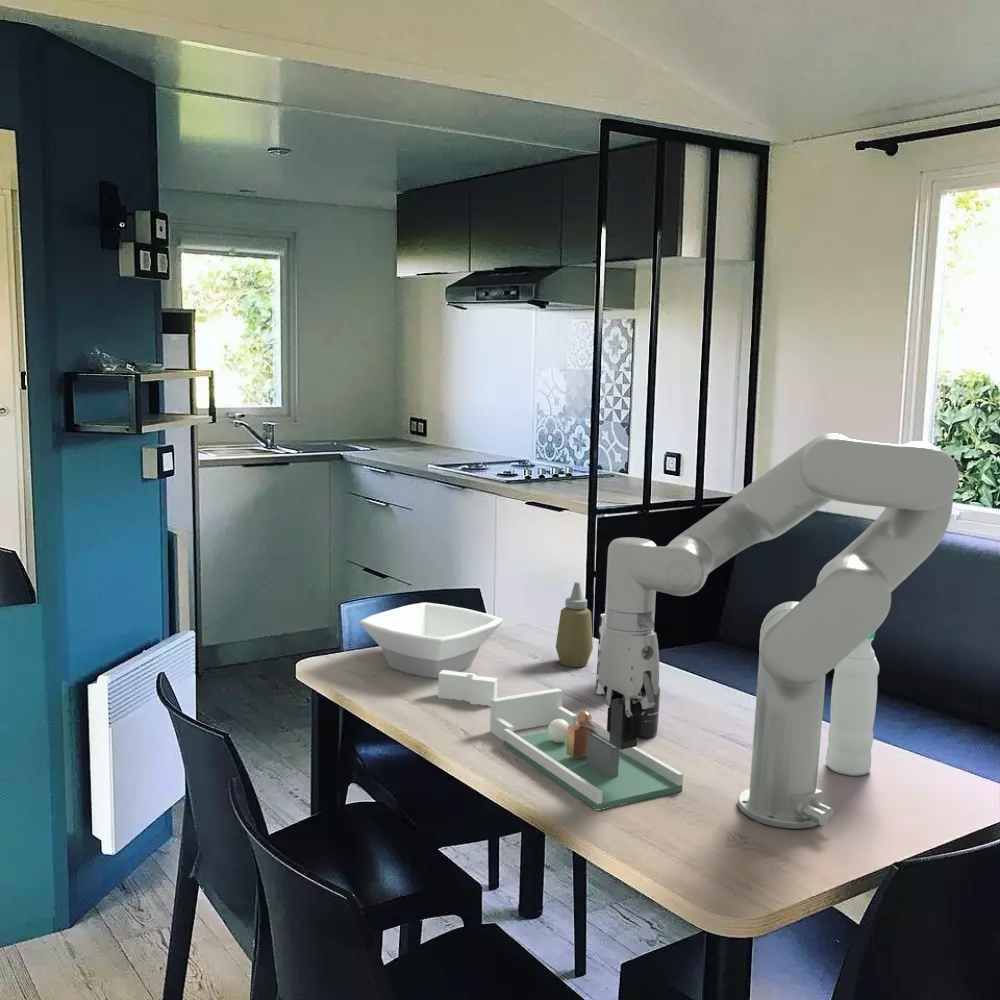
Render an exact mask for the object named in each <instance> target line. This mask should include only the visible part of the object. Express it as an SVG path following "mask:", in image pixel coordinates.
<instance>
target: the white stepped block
mask: <svg viewBox="0 0 1000 1000" xmlns="http://www.w3.org/2000/svg"><path fill="white" fill-rule="evenodd" d="M498 680H499V678H497V677H491V676H490V677H489V676H481V675H477V673H471V672H464V671H459V672H457V671H448V670H442V671H441V672H440V673H439V678H438V689H437V690H438V691H437V692H438V693H437V697H438V698H439V699H445V698H446V699H447V700H453V699H455V700H454V701H462V700H465V701H464V702H467V703H468V702H470V703H469V704H471V703H472V704H471V705H477V704H481V705H480V706H485V705H488V706H487V707H491V699H493V698H498Z"/></svg>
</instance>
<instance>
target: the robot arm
mask: <svg viewBox="0 0 1000 1000" xmlns="http://www.w3.org/2000/svg"><path fill="white" fill-rule="evenodd" d="M959 484H960V472H959V468H958V467H957V463H956V462H955V460H954V459H953V457H952V456H950V454H949V453H947V452H946V451H945V450H943V449H941V448H939V446H936V445H934V443H933V444H932V443H930V442H928V441H927V442H926V441H922V440H920V441H919V440H917V441H916V440H915V441H909V442H905V443H904V444H896V443H895V444H894V443H885V442H884V443H883V442H875V441H873V442H872V441H865V440H858V439H851V438H849V437H847V436H845V435H843V434H841V433H840V434H839V433H833V432H831V433H824V434H821V435H819V436H817V437H816V438H813V439H811V440H810V441H809V442H807V443H806V444H805V445H803V446H802V447H800V448H799V449H798V450H796V451H795V452H793V453H792V454H790V455H789V456H788V457H786V458H784V459H783V460H782V461H781V462H779V463H778V464H776V465H775V466H774V467H773V468H771V469H770V470H768V471H767V472H765V473H764V474H763V475H761V476H760V477H758V478H757V479H755V480H754V481H752V482H751V483H749V484H748V485H747V486H746V487H744V488H743V489H740V490H739V491H738V492H737V493H735V494H734V495H733V496H731V498H730V499H728V500H727V501H726V502H724V503H723V504H721V505H720V506H718V507H717V508H716V509H714V510H713V511H711V512H710V513H708V514H707V515H706V516H704V517H703V518H702V519H699V520H698V521H697V522H696V523H693V525H691V526H690V527H688V528H687V529H686V530H684V531H683V532H681V533H680V534H678V535H677V536H676V537H674V538H673V539H672V540H671V541H670V542H669V543H668V544H667V545H665V546H657V544H656V543H655V542H654V541H653V540H651V539H648V538H641V537H633V536H632V537H629V536H628V537H618V538H614V539H613V540H612V541H610V543H609V545H608V548H607V560H606V561H607V563H606V564H607V565H606V582H605V583H606V584H605V585H606V587H605V589H606V590H605V601H604V602H605V604H604V613H605V621H604V628H603V632H602V637H601V644H600V652H599V664H598V675H599V678H598V682H599V684H600V685H601V687H602V688H603V689H604V693H605V695H606V696H605V697H606V698H605V704H606V707H607V718H606V719H607V720H606V722H607V723H606V729H607V731H608V732H609V733H610V719H611V700H612V699H618V698H624V697H625V713H626V715H623V719H622V740H623V741H630V740H635V739H637V740H639V739H641V738H640V734H641V716H642V715H643V714H644V712H645V710H646V709H647V708H650V707H654V706H655V700H654V696H655V695H657V694H658V690H659V687H660V653H659V643H658V637H657V632H656V631H655V616H656V615H655V614H656V598H657V596H656V595H657V592H660V593H664V594H668V595H671V596H676V597H687V596H690V595H694V594H695V593H697V592H699V591H700V590H701V589H702V587H704V585H705V583H706V581H707V578H708V575H709V574H710V573H711V572H713V571H714V570H715V569H717V568H719V566H721V565H723V564H724V563H725V562H727V561H728V560H729V559H731V558H733V557H734V556H736V555H737V554H739V553H740V552H742V551H744V550H746V549H747V548H749V547H751V546H753V545H755V544H758V543H761V542H767V541H771V540H773V539H776V538H778V537H780V536H781V535H783V534H785V533H786V532H788V531H789V530H790V529H792V528H793V527H795V526H796V525H798V524H799V523H800V522H802V521H804V519H807V517H809V516H811V515H812V514H813V513H815V512H816V511H817V510H819V509H820V508H822V507H824V506H826V505H827V504H828V503H830V502H831V501H835V502H842V503H846V504H852V505H853V504H854V505H862V506H870V507H871V506H872V507H881V508H882V507H883V508H884V509H883V511H882V512H881V514H879V516H878V517H877V518H876V519H875V520H874V521H873V522H872V523H871V524H869V526H868V527H867V528H866V529H865V530H864V531H863V532H862V533H861V534H860V535H859V536H857V537H856V538H855V539H854V540H853V541H852V542H851V543H849V545H848V546H846V547H845V548H844V549H843V550H841V552H840V553H838V554H837V555H836V556H834V557H833V558H832V559H831V560H830V561H828V562H827V563H826V564H825V565H824V566H823V567H822V569H821V570H820V571H819V574H818V576H817V578H816V585H815V587H814V588H813V589H812V590H811V591H810V592H809V593H808V594H807V595H805V596H804V597H803V598H802V599H801V600H800V601H793V600H791V601H786V602H782V603H780V604H778V605H776V606H775V607H773V608H772V609H771V610H770V611H769V612H768V613H767V614H766V616H765V617H764V618H763V621H762V623H761V627H760V632H759V646H758V647H759V648H758V651H759V655H758V656H759V657H758V670H757V685H756V699H755V711H754V722H753V723H754V725H753V738H752V750H751V751H752V753H751V769H750V782H749V783H750V784H749V788H747V789H745V790H743V791H742V792H741V793H739V795H738V799H737V805H738V808H739V810H740V811H741V812H742V814H744V815H745V816H747V817H748V818H749V819H752V820H754V821H756V822H758V823H761V824H764V825H767V826H772V827H775V828H780V829H781V828H783V829H791V830H792V829H793V830H801V829H809V828H812V827H815V826H818V825H820V826H822V827H823V826H825V825H826V824H827V823H828V821H829V819H830V818H831V817H832V816H833V814H834V809H833V808H832V807H830V805H829V806H828V805H827V804H823V802H822V795H823V791H822V790H820V789H819V788H817V785H818V770H819V761H820V749H821V747H820V746H821V738H822V737H821V736H822V735H821V734H822V723H823V722H822V721H823V714H824V713H823V712H824V704H825V703H824V702H825V690H826V689H825V688H826V675H827V674H828V673H829V672H831V671H832V670H833V669H834V667H835V666H836V665H837V664H839V663H840V662H841V661H842V660H843V659H844V658H846V657H847V656H848V655H849V654H850V653H851V652H852V651H854V650H855V649H856V648H857V647H858V646H859V645H860V644H862V643H863V642H864V641H865V640H866V639H867V638H868V637H870V636H871V635H872V634H873V633H874V632H875V633H876V631H877V630H878V629H879V628H880V627H881V626H882V624H883V623H884V621H885V619H886V618H887V616H888V615H889V612H890V610H891V604H892V592H893V591H894V590H895V589H896V588H897V587H898V586H899V585H900V584H902V582H904V581H905V580H906V579H907V578H908V577H909V576H910V575H911V574H912V573H914V571H915V570H916V569H917V568H918V567H919V566H920V565H921V564H922V563H923V562H924V561H926V560H927V558H928V557H930V555H932V553H933V552H934V551H935V549H936V548H937V547H938V546H939V544H940V542H941V541H942V539H943V538H944V535H945V534H946V531H948V530H947V529H948V527H949V525H950V524H949V523H950V520H951V518H952V517H951V516H952V512H953V504H954V495H955V493H957V490H958V487H959ZM633 700H637V702H636V703H635V704H634V705H633Z"/></svg>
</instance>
